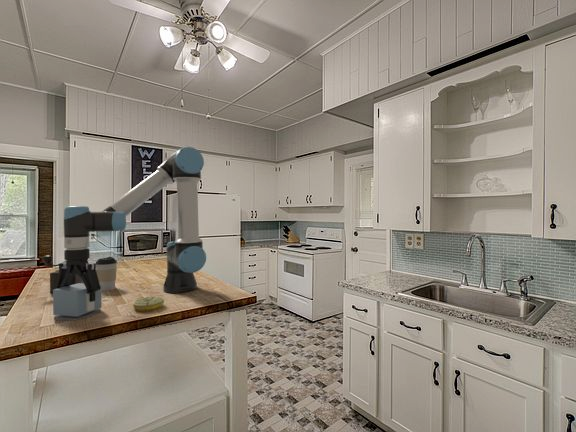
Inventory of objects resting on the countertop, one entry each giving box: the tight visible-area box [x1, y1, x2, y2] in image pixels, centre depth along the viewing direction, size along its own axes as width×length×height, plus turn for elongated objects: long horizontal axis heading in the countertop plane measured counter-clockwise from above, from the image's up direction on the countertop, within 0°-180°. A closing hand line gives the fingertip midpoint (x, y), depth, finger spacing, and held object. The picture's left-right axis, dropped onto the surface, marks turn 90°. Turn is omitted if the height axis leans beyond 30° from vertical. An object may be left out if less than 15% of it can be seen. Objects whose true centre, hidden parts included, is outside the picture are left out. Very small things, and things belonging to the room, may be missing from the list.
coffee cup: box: [95, 256, 118, 292], centre depth 146 cm, size 9×9×15 cm
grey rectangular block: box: [52, 283, 102, 317], centre depth 110 cm, size 10×10×9 cm
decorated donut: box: [132, 296, 165, 313], centre depth 116 cm, size 10×11×4 cm
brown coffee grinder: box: [41, 254, 85, 294], centre depth 142 cm, size 16×11×18 cm
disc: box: [53, 308, 102, 322], centre depth 110 cm, size 14×14×1 cm
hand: (77, 309), depth 110 cm, fingers closed on grey rectangular block, 10 cm apart
